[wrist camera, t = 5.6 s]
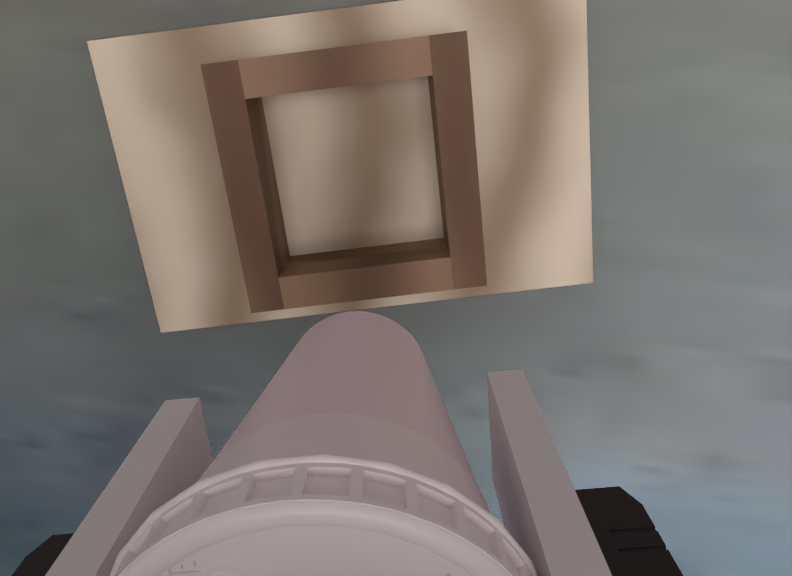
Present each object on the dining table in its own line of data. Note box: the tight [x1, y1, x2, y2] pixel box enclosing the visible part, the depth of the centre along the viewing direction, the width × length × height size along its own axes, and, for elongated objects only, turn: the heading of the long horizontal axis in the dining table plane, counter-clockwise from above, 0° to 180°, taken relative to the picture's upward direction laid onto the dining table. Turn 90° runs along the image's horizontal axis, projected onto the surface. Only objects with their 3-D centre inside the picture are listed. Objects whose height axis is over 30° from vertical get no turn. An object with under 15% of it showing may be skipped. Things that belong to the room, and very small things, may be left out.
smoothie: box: [110, 311, 537, 576], centre depth 11 cm, size 6×6×14 cm
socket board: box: [87, 0, 593, 333], centre depth 29 cm, size 22×14×4 cm, turn 97°
